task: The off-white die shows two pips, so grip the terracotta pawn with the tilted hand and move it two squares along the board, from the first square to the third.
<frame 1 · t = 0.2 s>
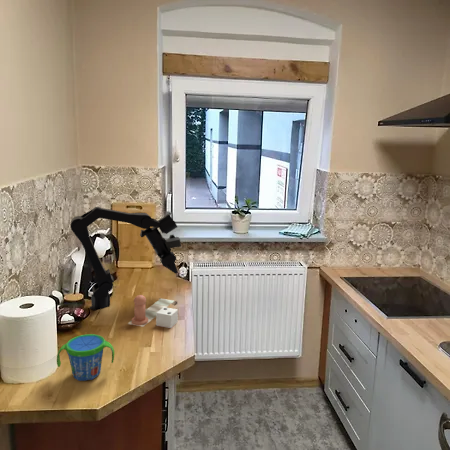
hand: (174, 269, 167), 15 cm above the worktop, tool tilted 30°, fingers open, 9 cm apart
snack cup: (86, 375, 113), on the worktop
die: (166, 326, 146), on the worktop
board: (152, 313, 156), on the worktop
pawn: (139, 321, 146), point 1 cm above the worktop, touching board
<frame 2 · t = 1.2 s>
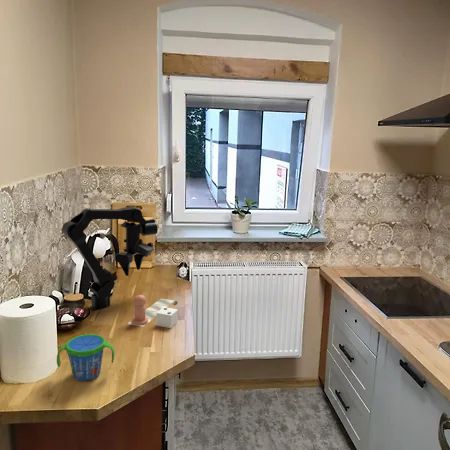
hand: (132, 272, 166), 13 cm above the worktop, tool pointing down, fingers open, 9 cm apart
nothing on the worktop moved.
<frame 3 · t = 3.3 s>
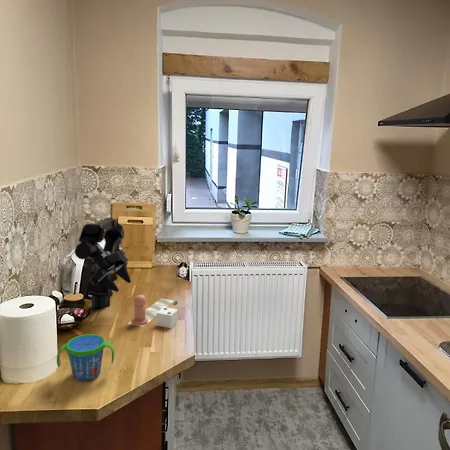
hand: (124, 286, 147), 13 cm above the worktop, tool tilted 45°, fingers open, 9 cm apart
nothing on the worktop moved.
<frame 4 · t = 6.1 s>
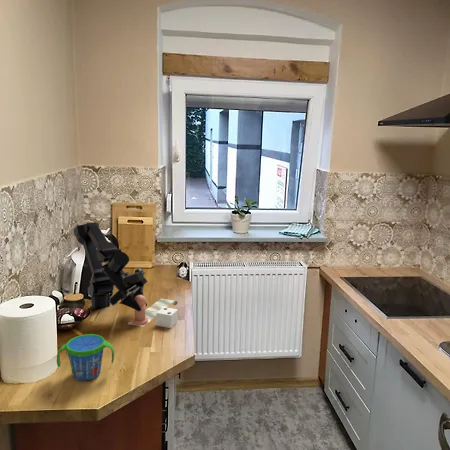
hand: (143, 308, 145), 7 cm above the worktop, tool tilted 45°, fingers closed on pawn, 4 cm apart
pawn: (139, 321, 146), point 1 cm above the worktop, touching board, gripper
everything else where it was.
when the fingers open (8 cm above the worktop, at t = 10.1 s): pawn drops 1 cm, resting on board.
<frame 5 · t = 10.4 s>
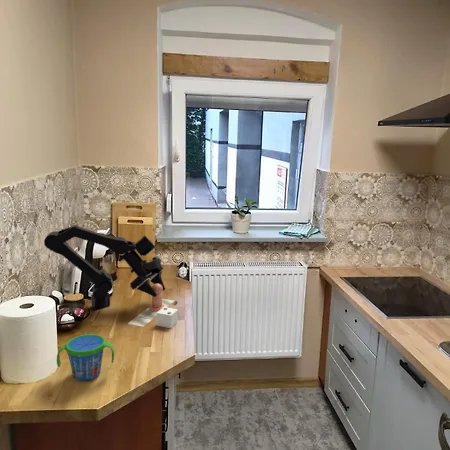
hand: (160, 293, 158), 8 cm above the worktop, tool tilted 45°, fingers open, 7 cm apart
pawn: (156, 308, 159), point 1 cm above the worktop, touching board
everything else where it was.
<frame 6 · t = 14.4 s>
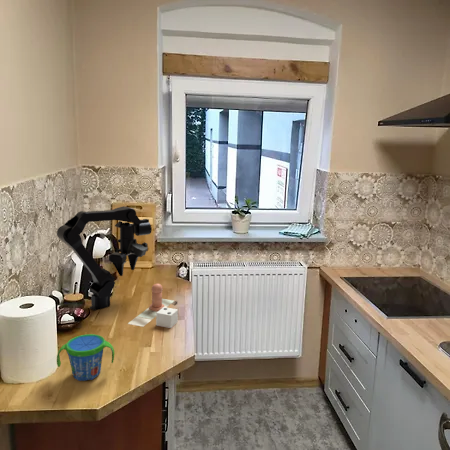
hand: (127, 272, 165), 13 cm above the worktop, tool pointing down, fingers open, 9 cm apart
nothing on the worktop moved.
at the end: pawn 0.0 cm from the target spot, point 1.1 cm above the worktop; pawn tilted 0°; the gripper is holding nothing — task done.
